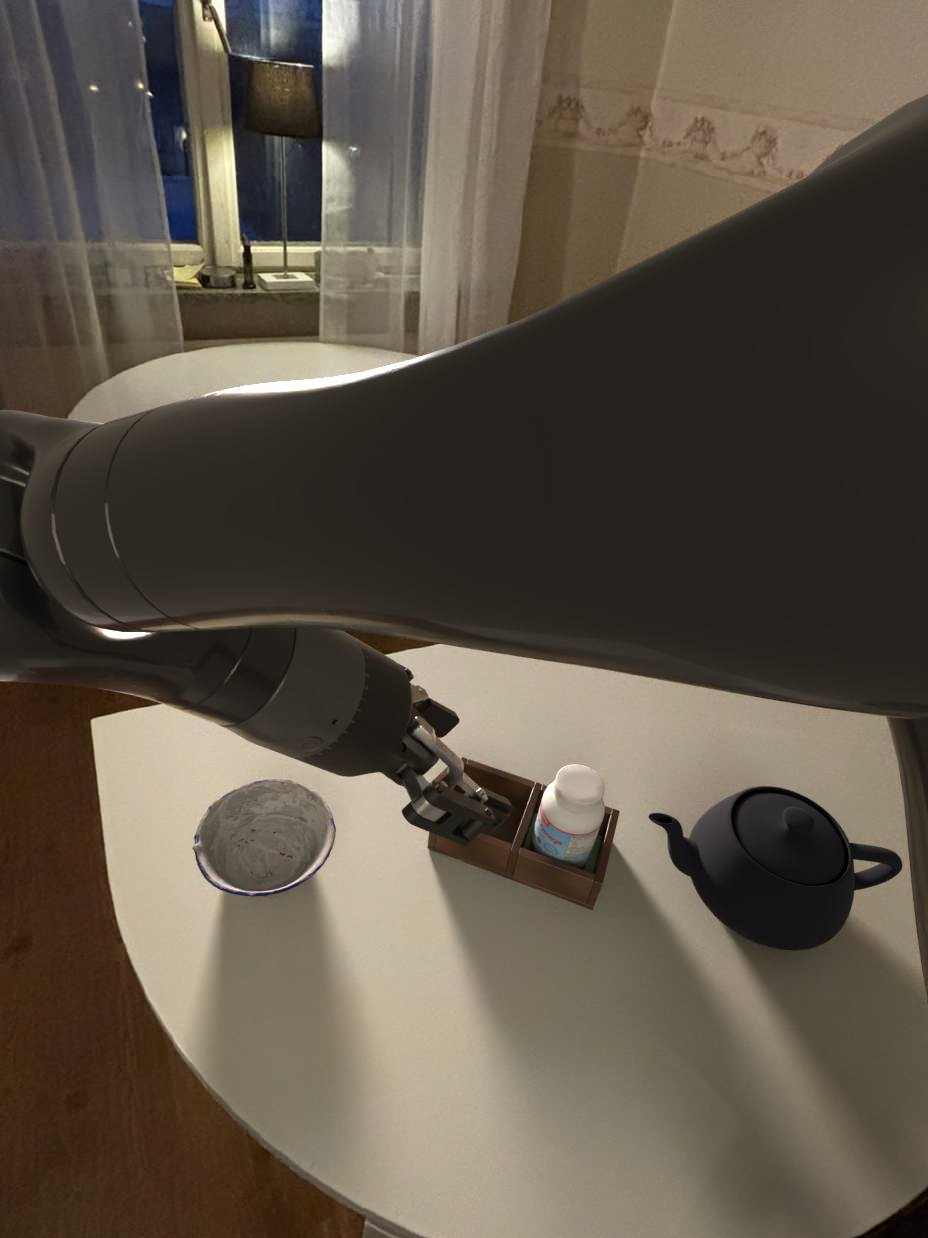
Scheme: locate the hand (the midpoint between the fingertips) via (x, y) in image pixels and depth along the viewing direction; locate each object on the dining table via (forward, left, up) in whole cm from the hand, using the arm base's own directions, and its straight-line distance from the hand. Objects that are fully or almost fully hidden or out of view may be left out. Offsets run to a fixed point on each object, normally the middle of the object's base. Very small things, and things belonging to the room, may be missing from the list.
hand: (474, 768), depth 52 cm
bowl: (+19, -1, -25) cm, 31 cm away
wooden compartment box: (-3, -13, -25) cm, 28 cm away
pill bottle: (-7, -13, -24) cm, 28 cm away
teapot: (-26, -17, -25) cm, 40 cm away
